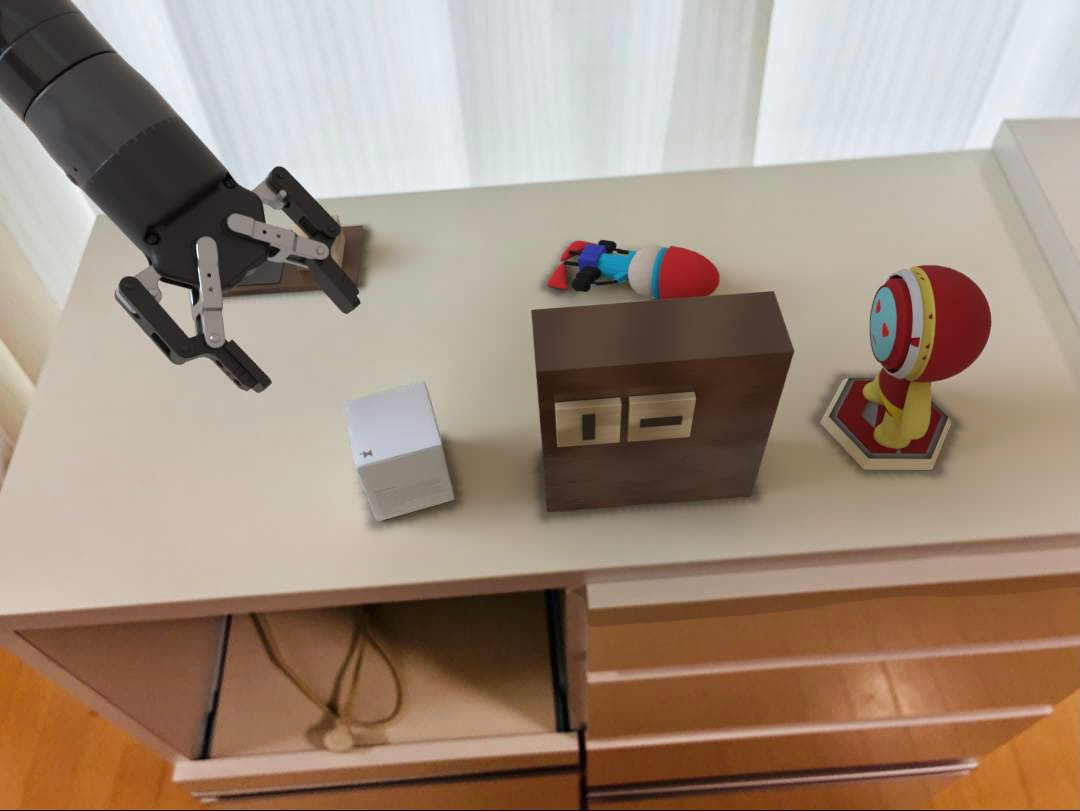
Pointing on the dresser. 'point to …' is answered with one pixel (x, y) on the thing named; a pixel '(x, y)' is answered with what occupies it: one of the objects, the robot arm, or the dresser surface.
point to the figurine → (910, 368)
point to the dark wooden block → (657, 398)
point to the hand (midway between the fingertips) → (311, 347)
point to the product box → (398, 450)
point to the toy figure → (639, 270)
